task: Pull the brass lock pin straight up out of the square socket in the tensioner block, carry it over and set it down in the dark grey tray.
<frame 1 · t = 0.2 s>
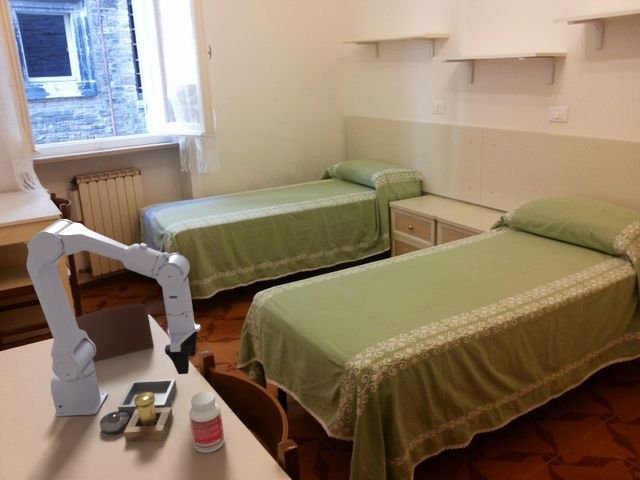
hand: (187, 364, 128), 10 cm above the table, tool pointing down, fingers open, 7 cm apart
pill bottle: (209, 444, 117), on the table
tensioner block: (150, 428, 123), on the table
lock pin: (147, 413, 121), in the tensioner block
letter holder: (115, 349, 158), on the table
tray: (149, 402, 132), on the table
pulley: (115, 426, 124), on the table
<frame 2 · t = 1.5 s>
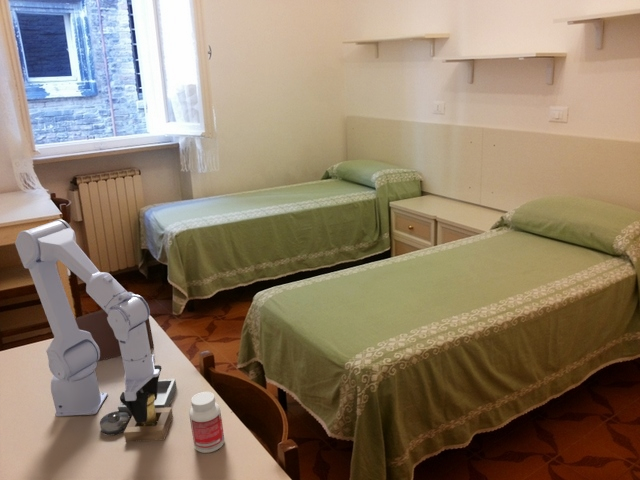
hand: (146, 410, 121), 5 cm above the table, tool pointing down, fingers open, 7 cm apart
nothing on the table moved.
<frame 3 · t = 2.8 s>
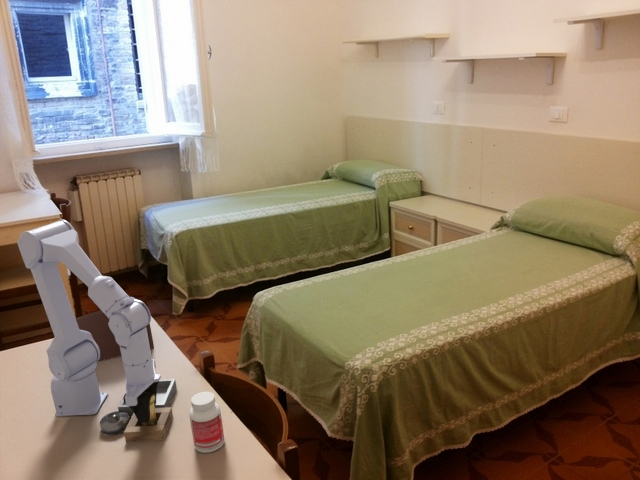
hand: (147, 414, 121), 4 cm above the table, tool pointing down, fingers closed on lock pin, 4 cm apart
lock pin: (147, 413, 121), in the tensioner block, touching gripper
everything else where it was.
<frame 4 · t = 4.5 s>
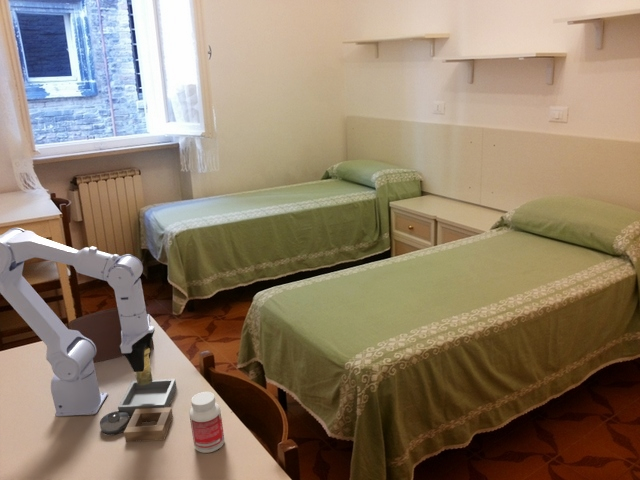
hand: (142, 365, 128), 10 cm above the table, tool pointing down, fingers closed on lock pin, 4 cm apart
lock pin: (142, 366, 128), point 10 cm above the table, touching gripper
everything else where it was.
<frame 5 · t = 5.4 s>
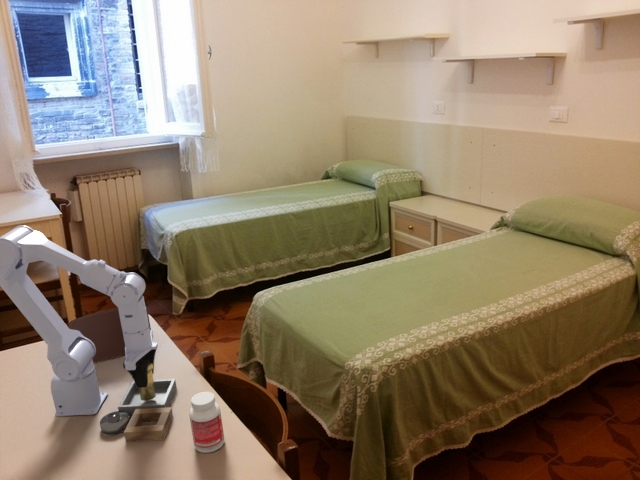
hand: (145, 380, 130), 6 cm above the table, tool pointing down, fingers closed on lock pin, 4 cm apart
lock pin: (145, 381, 130), point 6 cm above the table, touching gripper
everything else where it was.
when the fingers open (5 cm above the table, at t = 6.3 s): lock pin stays where it is, resting on tray.
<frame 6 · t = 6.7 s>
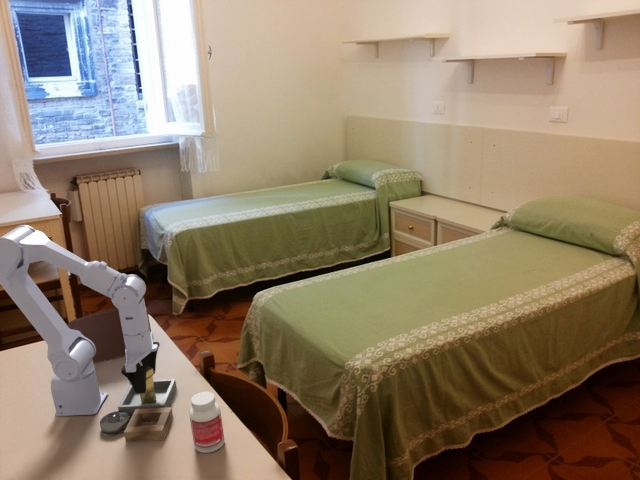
hand: (145, 382, 130), 5 cm above the table, tool pointing down, fingers open, 7 cm apart
lock pin: (146, 386, 130), in the tray, point 4 cm above the table
everything else where it was.
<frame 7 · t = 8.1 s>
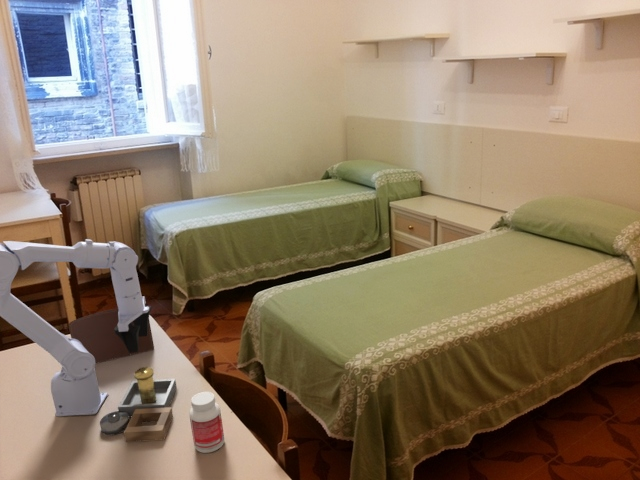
hand: (138, 343, 138), 10 cm above the table, tool pointing down, fingers open, 7 cm apart
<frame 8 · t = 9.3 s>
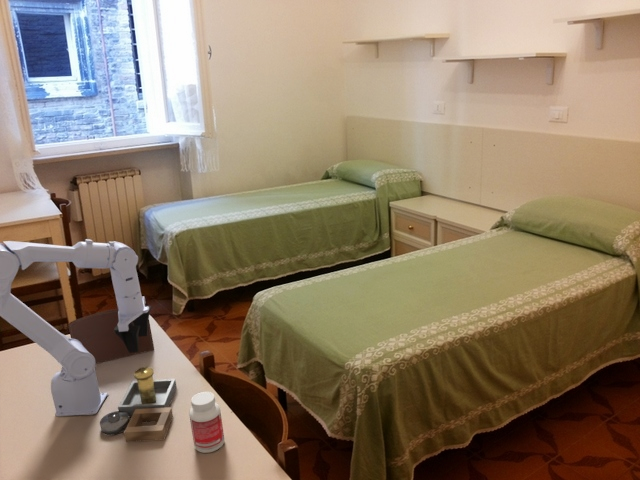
hand: (138, 343, 138), 10 cm above the table, tool pointing down, fingers open, 7 cm apart
at the end: lock pin inside the target area on the tray (0.5 cm from its centre), point 4.5 cm above the tray's base; the gripper is holding nothing; lock pin moved 10.0 cm from its start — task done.
